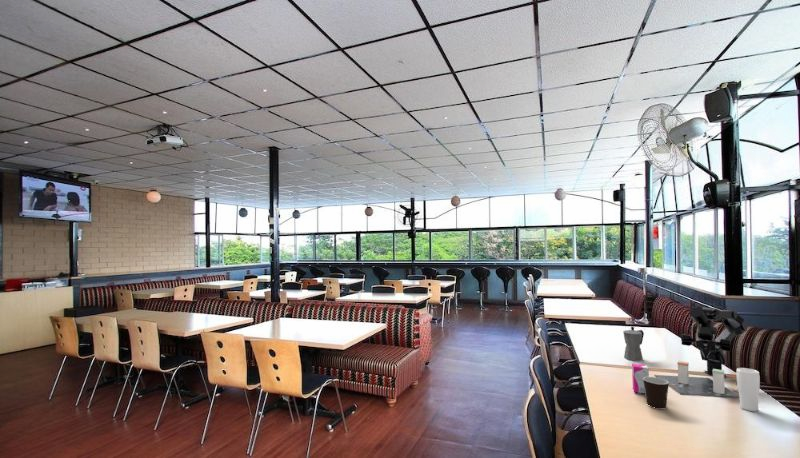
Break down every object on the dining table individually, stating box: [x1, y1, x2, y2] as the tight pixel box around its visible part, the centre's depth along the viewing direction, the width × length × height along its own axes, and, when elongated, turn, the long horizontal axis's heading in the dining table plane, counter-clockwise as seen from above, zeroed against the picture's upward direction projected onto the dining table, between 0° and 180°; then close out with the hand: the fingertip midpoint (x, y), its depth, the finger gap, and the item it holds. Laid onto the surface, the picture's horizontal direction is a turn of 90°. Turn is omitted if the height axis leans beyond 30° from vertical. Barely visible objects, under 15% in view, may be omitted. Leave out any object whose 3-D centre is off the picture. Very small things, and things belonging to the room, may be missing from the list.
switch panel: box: [653, 374, 740, 399], centre depth 176 cm, size 24×24×1 cm
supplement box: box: [631, 363, 650, 395], centre depth 170 cm, size 6×6×12 cm
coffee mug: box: [643, 376, 669, 409], centre depth 156 cm, size 12×9×10 cm
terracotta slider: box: [677, 360, 690, 385], centre depth 179 cm, size 3×4×9 cm
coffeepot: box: [622, 326, 645, 362], centre depth 219 cm, size 15×9×18 cm, turn 113°
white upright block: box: [712, 369, 726, 394], centre depth 167 cm, size 3×4×9 cm
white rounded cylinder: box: [736, 367, 761, 413], centre depth 152 cm, size 7×7×15 cm
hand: (705, 357), depth 180 cm, fingers closed
